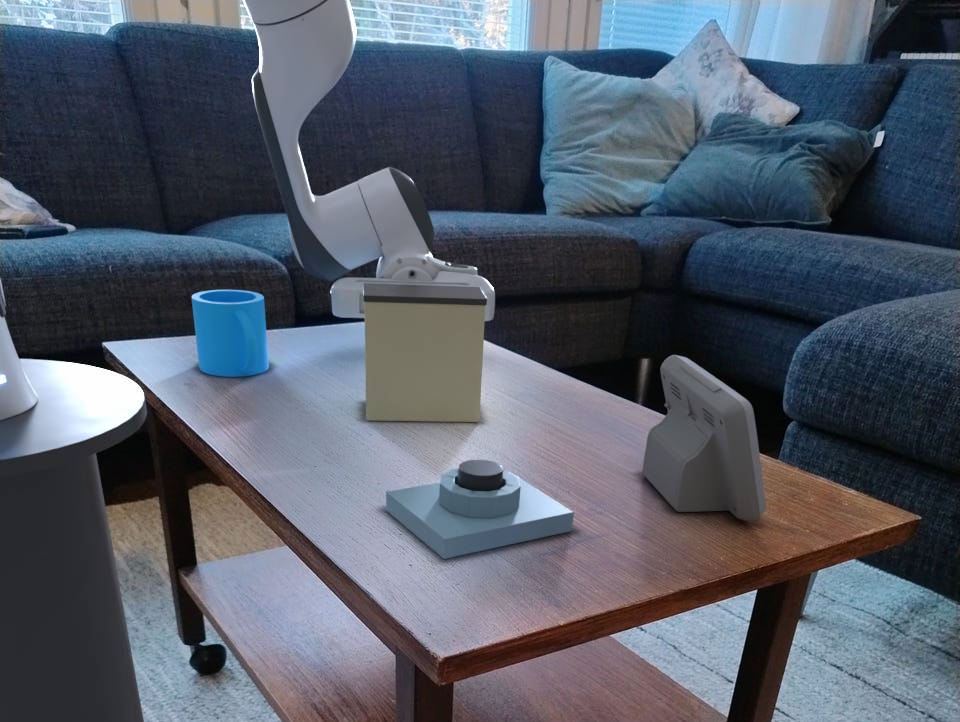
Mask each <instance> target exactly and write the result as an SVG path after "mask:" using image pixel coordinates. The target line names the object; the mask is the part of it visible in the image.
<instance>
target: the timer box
mask: <svg viewBox="0 0 960 722" xmlns="http://www.w3.org/2000/svg"><path fill="white" fill-rule="evenodd" d="M385 504H386V505H385V511H386V512H387V513H388V514H389V515H391V516H392V517H393V518H394V519H396V520H397V521H398V522H399V523H401V524H402V525H403V526H404V527H405V528H406V529H407V530H408V531H410V532H411V533H412V534H414V535H415V536H416V537H417V538H418V539H419V540H420V541H422V542H423V543H424V544H425V545H426V546H428V547H429V548H430V549H431V550H432V551H434V552H435V553H436V554H437V555H438V556H440V557H441V558H442V559H443V560H447V559H450V558H451V559H452V558H456V557H459V556H460V557H461V556H464V555H469V554H474V553H479V552H482V551H488V550H491V549H497V548H501V547H507V546H510V545H515V544H519V543H524V542H529V541H534V540H538V539H542V538H546V537H552V536H557V535H560V534H565V533H569V532H572V530H573V523H574V513H575V512H574V511H572V510H571V509H569V508H568V507H566V506H564V505H563V504H561V503H560V502H558V501H557V500H556V499H553V498H552V497H550V496H549V495H547V494H545V493H544V492H542V491H541V490H539V489H538V488H537V487H535V486H532V484H530V483H528V482H527V481H525V480H523V479H522V478H520V477H519V476H517V475H515V474H514V473H513V472H511V471H510V470H503V480H502V488H501V489H499V490H493V491H472V490H468V489H464V488H461V487H459V486H458V467H457V468H451V469H450V470H447V471H445V472H444V473H442V474H440V475H439V482H435V483H429V484H422V485H417V486H410V487H405V488H400V489H395V490H394V489H393V490H388V491H386V492H385Z"/></svg>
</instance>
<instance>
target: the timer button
mask: <svg viewBox="0 0 960 722" xmlns="http://www.w3.org/2000/svg"><path fill="white" fill-rule="evenodd" d="M457 468H458V486H459V487H461V488H464V489H468V490H472V491H493V490H499V489H501V488H502V480H503V471H504V468H503V466H502V465H501V464H500V463H497V462H495V461H492V460H487V459H469V460H465V461H463V462H461V463H459V465H458V467H457Z"/></svg>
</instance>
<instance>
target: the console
mask: <svg viewBox="0 0 960 722" xmlns="http://www.w3.org/2000/svg"><path fill="white" fill-rule="evenodd" d="M363 300H364V312H365V318H364V366H365V367H364V370H365V377H364V378H365V419H366V420H365V421H369V422H370V421H371V422H372V421H373V422H440V423H441V422H445V423H448V422H450V423H480V419H481V416H480V415H481V401H482V400H481V399H482V397H481V396H482V378H483V361H484V359H483V358H484V341H485V322H486V321H485V305H487V299H486V297H485V295H484V294H483V292H482V290H481V288H480V287H465V286H435V285H404V284H373V283H363Z"/></svg>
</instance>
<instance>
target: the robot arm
mask: <svg viewBox="0 0 960 722" xmlns="http://www.w3.org/2000/svg"><path fill="white" fill-rule="evenodd" d="M242 1H243V4H244V6H245V8H246V11H247V14H248V16H249V18H250V20H251V22H252V25H253V28H254V30H255V33H256V37H257V42H258V47H259V65H258V68H257V69H256V70H255V72H254V74H253V75H252V77H251V88H252V96H253V101H254V106H255V110H256V114H257V117H258V121H259V125H260V128H261V133H262V136H263V140H264V143H265V146H266V150H267V154H268V157H269V160H270V163H271V167H272V170H273V174H274V177H275V180H276V183H277V186H278V191H279V194H280V197H281V200H282V203H283V206H284V210H285V213H286V219H287V226H288V233H289V240H290V244H291V248H292V251H293V253H294V256H295V259H296V260H297V262H298V264H300V266H301V267H302V269H304V270H303V271H304V272H305V273H306V274H308V275H310V276H311V277H314V278H317V279H320V280H323V281H328V282H334V281H335V280H336V281H335V282H334V283H333V284H332V285H331V287H330V289H329V294H330V297H331V313H332V314H333V316H335V317H338V318H341V319H342V318H344V319H345V318H347V319H348V318H349V319H350V318H351V319H365V312H364V300H363V283H373V284H404V285H435V286H465V287H480V288H481V290H482V292H483V294H484V295H485V297H486V299H487V305H485V322H489V321H493V319H494V317H495V309H496V308H495V307H496V292H495V291H496V290H495V289H494V287H493V286H492V284H491V283H490V282H489V281H488V279H486V278H485V277H483V276H481V275H479V274H478V268H477V267H475V266H473V265H467V264H461V263H454V262H449V261H444V260H441V259H438V258H436V257H433V254H432V253H431V251H432V249H433V245H434V241H435V237H436V234H435V230H434V226H433V222H432V219H431V215H430V214H429V211H428V208H427V206H426V203H425V201H424V199H423V197H422V195H421V193H420V191H419V188H417V185H416V184H415V182H414V181H413V180H412V178H411V176H408V175H407V174H406V173H404V172H402V171H401V170H400V169H397V168H395V167H391V166H388V167H386V168H383V169H381V170H377V171H376V172H373V173H371V174H369V175H367V176H363V177H362V178H359V179H357V181H354V182H352V183H349V184H347V185H344V186H343V187H340V188H338V189H336V190H333V191H331V192H329V193H326V194H324V195H316V194H313V193H312V190H311V186H310V182H309V178H308V174H307V171H306V167H305V164H304V161H303V156H302V152H301V148H300V144H299V134H300V131H301V128H302V126H303V123H304V122H305V120H306V119H307V117H308V115H309V114H310V112H312V110H313V109H314V108H315V107H316V106H317V105H318V104H319V102H320V101H321V100H322V99H323V98H324V97H326V95H327V94H328V93H329V92H330V91H332V89H333V88H334V87H335V86H336V84H337V83H338V82H339V80H340V79H341V78H342V76H343V75H344V73H345V71H346V70H347V68H348V66H349V64H350V62H351V59H352V56H353V54H354V50H355V46H356V40H357V26H356V22H355V17H354V13H353V10H352V9H353V8H352V5H351V2H350V0H242ZM375 260H378V262H377V265H376V271H375V277H354V276H353V277H351V276H350V277H343V276H345V275H347V274H349V273H350V272H353V270H354V269H357V268H360V267H361V266H364V265H365V264H368V263H371V262H374V261H375ZM1 279H2V278H0V421H1V420H4V419H7V418H10V417H13V416H15V415H18V414H21V413H23V412H25V411H27V410H28V409H30V408H31V407H33V406H34V405H35V404H36V403H37V400H38V397H37V395H36V393H35V391H34V390H33V388H32V386H31V384H30V382H29V380H28V378H27V376H26V374H25V372H24V370H23V367H22V365H21V363H20V360H19V359H20V358H19V356H18V355H19V354H18V353H17V350H16V348H15V345H14V342H13V340H12V335H11V334H10V330H9V327H8V323H7V320H6V317H5V316H6V314H7V311H6V307H7V305H6V299H5V294H4V288H3V283H2V280H1Z"/></svg>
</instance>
